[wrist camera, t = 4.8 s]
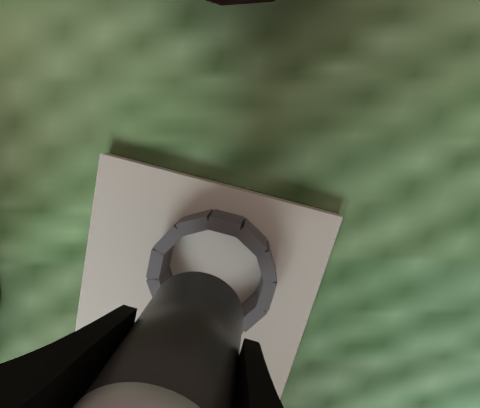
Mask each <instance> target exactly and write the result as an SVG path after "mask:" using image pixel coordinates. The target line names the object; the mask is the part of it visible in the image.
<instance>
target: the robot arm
mask: <svg viewBox="0 0 480 408" xmlns="http://www.w3.org/2000/svg"><path fill="white" fill-rule="evenodd" d="M136 313H137V308H134V307H130V306H127V305H122V306H120V307H118V308H116V309H114V310H113V311H111V312H109V313H107V314H106V315H104V316H102V317H100V318H99V319H97V320H95V321H93V322H92V323H90V324H88V325H86V326H84V327H82V328H81V329H79V330H77V331H75V332H73V333H71V334H69V335H67V336H65V337H63V338H61V339H59V340H57V341H55V342H53V343H51V344H49V345H47V346H44V347H42V348H40V349H37V350H35V351H33V352H30V353H28V354H25V355H23V356H20V357H18V358H15V359H13V360H10V361H7V362H4V363H1V364H0V408H73V407H74V405H75V404H76V403H77V402H78V401H79V400H80V399H81V398H82V397H83V396H84V394H85V393H86V391H87V390H88V389H89V387H90V386H91V384H92V383H93V381H94V380H95V379H96V377H97V376H98V374H99V373H100V372H101V370H102V369H103V367H104V366H105V364H106V363H107V362H108V360H109V359H110V357H111V356H112V354H113V353H114V352H115V350H116V349H117V347H118V346H119V344H120V343H121V342H122V340H123V339H124V337H125V336H126V335H127V333H128V332H129V330H130V329H131V327H132V326H133V325H134V323H135V318H136ZM233 408H284V407H283V405H282V403H281V401H280V399H279V396H278V394H277V392H276V389H275V387H274V384H273V381H272V379H271V376H270V374H269V371H268V368H267V365H266V362H265V359H264V356H263V352H262V349H261V345H260V343H259V342H257V341H253V340H249V339H246V338H244V341H243V344H242V348H241V351H240V354H239V360H238V369H237V378H236V387H235V395H234V404H233Z"/></svg>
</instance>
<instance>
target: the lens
mask: <svg viewBox="0 0 480 408" xmlns="http://www.w3.org/2000/svg"><path fill="white" fill-rule="evenodd" d="M243 317H244V316H243V308H242V304H241V301H240V299H239V297H238V295H237V294H236V292H235V291H234V290H233V289H232V288H231V286H229V285H228V284H227V283H226V282H225V281H223V280H222V279H220V278H218V277H216V276H214V275H211V274H208V273H204V272H197V271H190V272H183V273H180V274H177V275H174V276H172V277H171V278H169V279H168V280H166V281H165V282H164V283H163V284H162V285H161V286H160V288H159V289H158V290H157V292H156V293H155V295H154V296H153V298H152V299H151V300H150V302H149V303H148V305H147V306H146V307H145V309H144V310H143V312H142V313H141V315H140V316H139V317H138V319H137V320H136V322H135V323H134V325H133V326H132V327H131V329H130V330H129V332H128V333H127V335H126V336H125V337H124V339H123V340H122V342H121V343H120V344H119V346H118V347H117V349H116V350H115V352H114V353H113V354H112V356H111V357H110V359H109V360H108V362H107V363H106V364H105V366H104V367H103V369H102V370H101V372H100V373H99V374H98V376H97V377H96V379H95V380H94V381H93V383H92V384H91V386H90V387H89V389H88V390H87V391H86V393H85V394H84V396H83V397H82V398H81V399H80V400H79V401H78V402H77V403H76V404H75V405H74V407H73V408H233V404H234V395H235V387H236V378H237V369H238V360H239V352H240V344H241V335H242V326H243Z"/></svg>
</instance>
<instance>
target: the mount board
mask: <svg viewBox="0 0 480 408" xmlns="http://www.w3.org/2000/svg"><path fill="white" fill-rule="evenodd" d="M342 219H343V217H342V216H341V215H340V214H338V213H335V212H331V211H327V210H323V209H319V208H316V207H312V206H308V205H304V204H300V203H296V202H293V201H289V200H285V199H281V198H277V197H274V196H270V195H266V194H262V193H258V192H255V191H251V190H247V189H243V188H239V187H236V186H232V185H228V184H224V183H220V182H217V181H213V180H209V179H205V178H201V177H198V176H194V175H190V174H186V173H182V172H179V171H175V170H171V169H167V168H163V167H160V166H156V165H152V164H148V163H144V162H141V161H137V160H133V159H129V158H125V157H122V156H118V155H114V154H110V153H100V157H99V164H98V171H97V178H96V185H95V193H94V200H93V207H92V214H91V221H90V228H89V235H88V242H87V250H86V257H85V264H84V271H83V278H82V285H81V292H80V299H79V307H78V314H77V321H76V328H75V331H77V330H79V329H81V328H82V327H84V326H86V325H88V324H90V323H92V322H93V321H95V320H97V319H99V318H100V317H102V316H104V315H106V314H107V313H109V312H111V311H113V310H114V309H116V308H118V307H120V306H122V305H127V306H130V307H134V308H137V313H136V318H135V322H136V320H137V319H138V317H139V316H140V315H141V313H142V312H143V310H144V309H145V307H146V306H147V305H148V303H149V302H150V300H151V299H152V298H153V296H154V295H155V293H156V292H157V290H158V289H159V288H160V286H161V285H162V284H163V283H164V282H165V281H166V280H168V279H169V278H171V277H172V276H174V275H177V274H180V273H183V272H190V271H197V272H204V273H208V274H211V275H214V276H216V277H218V278H220V279H222V280H223V281H225V282H226V283H227V284H228V285H229V286H231V288H232V289H233V290H234V291H235V292H236V294H237V295H238V297H239V299H240V301H241V304H242V308H243V316H244V317H243V326H242V335H241V344H240V351H241V348H242V344H243V341H244V338H246V339H249V340H253V341H257V342H259V343H260V345H261V349H262V352H263V356H264V359H265V362H266V365H267V368H268V371H269V374H270V376H271V379H272V381H273V384H274V387H275V389H276V392H277V394H278V396H279V399H280V398H281V396H282V393H283V390H284V387H285V384H286V381H287V378H288V375H289V372H290V370H291V367H292V364H293V361H294V358H295V355H296V352H297V349H298V346H299V343H300V341H301V338H302V335H303V332H304V329H305V326H306V323H307V320H308V317H309V315H310V312H311V309H312V306H313V303H314V300H315V297H316V294H317V291H318V289H319V286H320V283H321V280H322V277H323V274H324V271H325V268H326V265H327V262H328V260H329V257H330V254H331V251H332V248H333V245H334V242H335V239H336V236H337V234H338V231H339V228H340V225H341V222H342ZM239 354H240V352H239Z"/></svg>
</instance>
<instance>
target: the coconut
mask: <svg viewBox="0 0 480 408" xmlns="http://www.w3.org/2000/svg"><path fill="white" fill-rule="evenodd" d="M207 1H210V2H213V3H216V4H218V5H233V4H247V3H260V2H273V1H275V0H207Z"/></svg>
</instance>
